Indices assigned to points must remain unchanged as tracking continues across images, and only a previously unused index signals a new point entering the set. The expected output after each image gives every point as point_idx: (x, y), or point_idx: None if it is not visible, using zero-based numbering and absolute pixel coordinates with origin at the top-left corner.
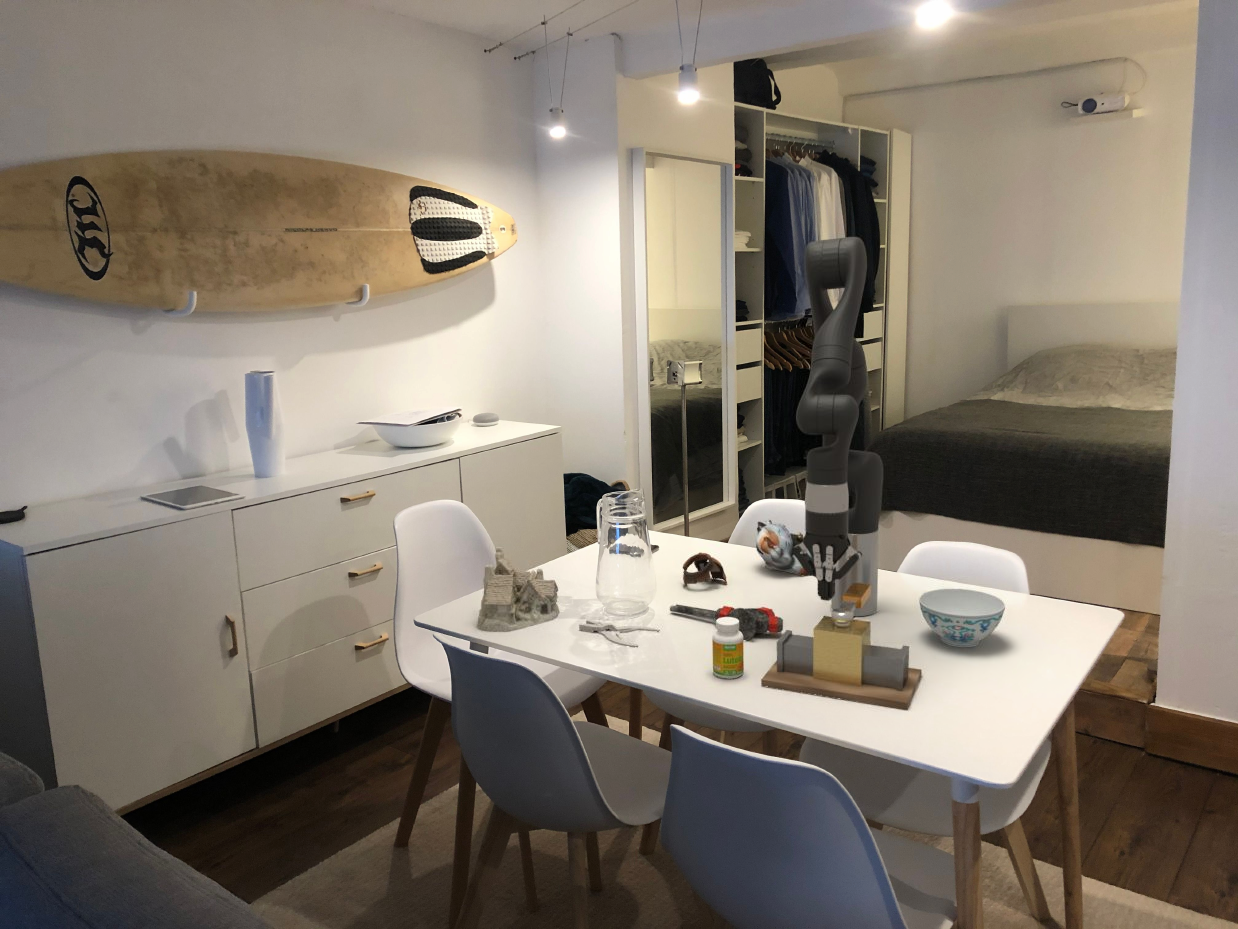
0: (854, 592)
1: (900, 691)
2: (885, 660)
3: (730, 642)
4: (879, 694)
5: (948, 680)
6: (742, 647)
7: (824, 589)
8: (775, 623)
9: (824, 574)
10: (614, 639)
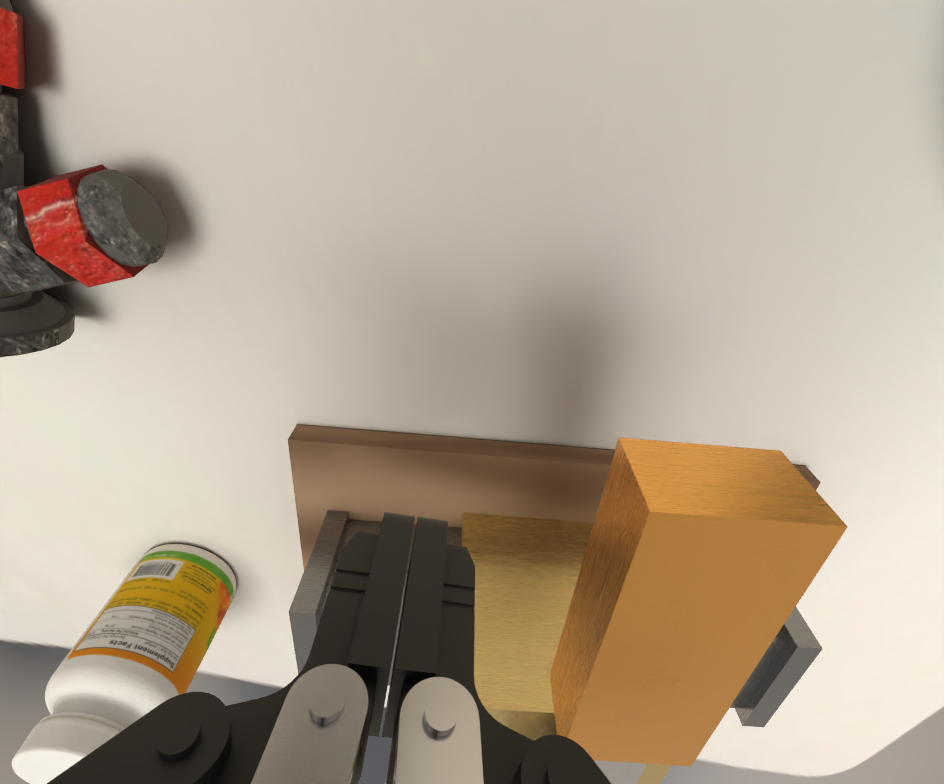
0: (648, 707)
1: None
2: None
3: None
4: None
5: (894, 472)
6: (191, 668)
7: (394, 657)
8: (116, 275)
9: (354, 780)
10: None
